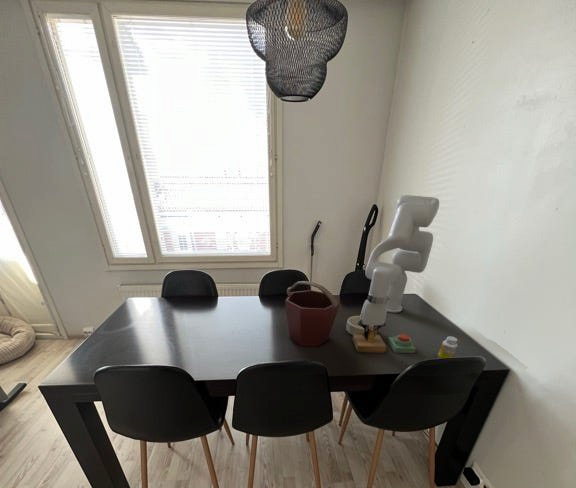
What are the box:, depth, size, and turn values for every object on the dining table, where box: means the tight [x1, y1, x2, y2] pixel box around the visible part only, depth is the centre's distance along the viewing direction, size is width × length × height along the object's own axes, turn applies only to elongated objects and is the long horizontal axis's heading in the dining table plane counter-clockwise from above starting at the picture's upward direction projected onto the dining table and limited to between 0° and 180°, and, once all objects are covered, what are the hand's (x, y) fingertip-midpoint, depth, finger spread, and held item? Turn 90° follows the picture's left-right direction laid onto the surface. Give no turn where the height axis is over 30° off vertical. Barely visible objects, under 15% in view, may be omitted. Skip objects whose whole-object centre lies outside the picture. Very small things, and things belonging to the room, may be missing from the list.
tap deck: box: [352, 334, 387, 354], centre depth 131 cm, size 13×12×3 cm
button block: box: [387, 334, 417, 354], centre depth 131 cm, size 10×9×4 cm
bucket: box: [284, 280, 340, 347], centre depth 129 cm, size 24×22×25 cm
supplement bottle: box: [436, 336, 458, 359], centre depth 121 cm, size 6×6×10 cm
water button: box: [398, 333, 410, 342], centre depth 129 cm, size 4×4×2 cm
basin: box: [345, 315, 378, 336], centre depth 141 cm, size 15×15×5 cm
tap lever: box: [367, 325, 375, 342], centre depth 130 cm, size 8×2×5 cm, turn 1°
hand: (368, 337), depth 131 cm, fingers closed on tap lever, 2 cm apart
